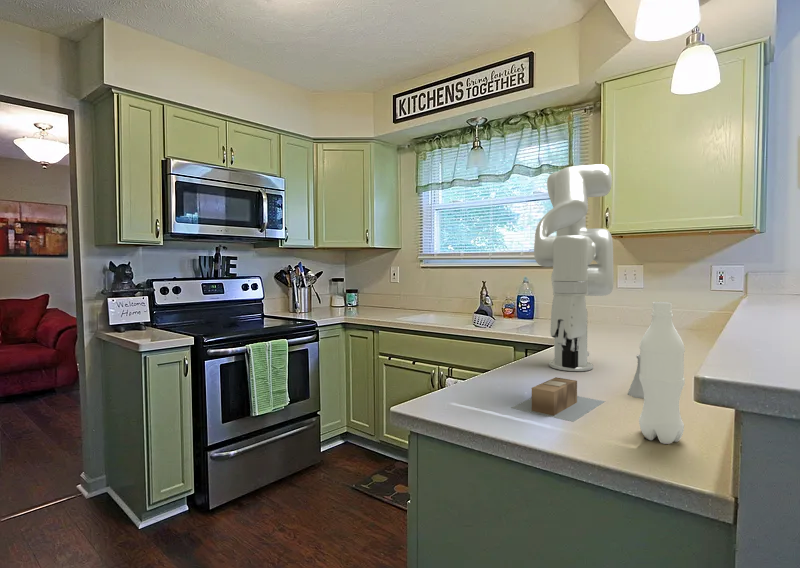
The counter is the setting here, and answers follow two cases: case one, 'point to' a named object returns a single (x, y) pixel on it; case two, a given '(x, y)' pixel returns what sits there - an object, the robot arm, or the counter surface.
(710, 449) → the counter surface
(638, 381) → the flask
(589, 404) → the mat
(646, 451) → the counter surface
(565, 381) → the cardboard box
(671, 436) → the water bottle
